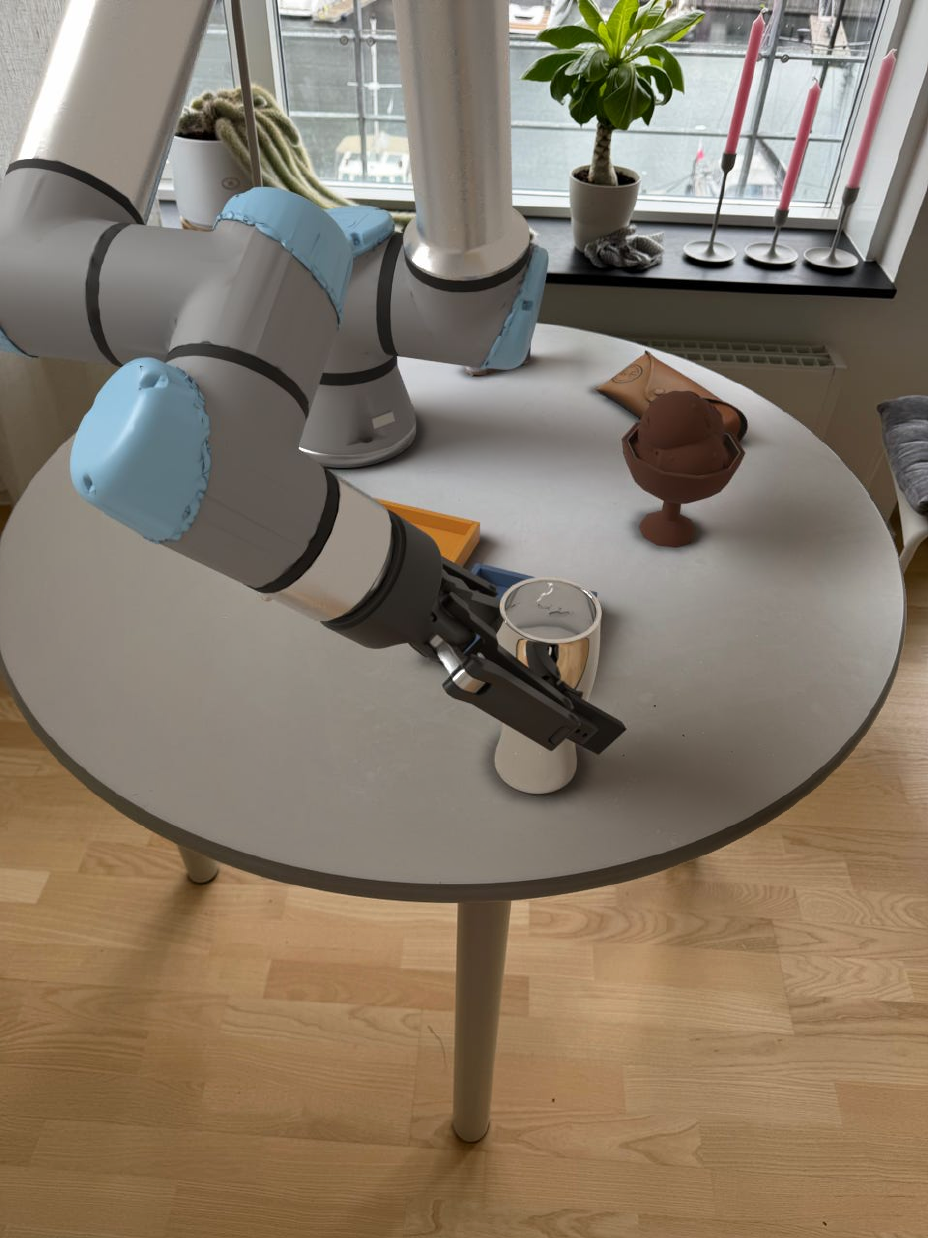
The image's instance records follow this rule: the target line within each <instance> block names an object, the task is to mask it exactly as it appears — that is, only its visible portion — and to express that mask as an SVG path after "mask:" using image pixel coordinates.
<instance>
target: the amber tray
mask: <svg viewBox="0 0 928 1238" xmlns="http://www.w3.org/2000/svg"><path fill="white" fill-rule="evenodd" d="M373 498H374V499H376V500H378V501H379V502H380V503H382V504H383V505H384V506H385V508H386V509H388V510H390V511H393V512H394V513H396V514H397V515H399V516H400V517H402V518H404V519H405V520H407V521H408V522H410V523H411V524H413V525H414V526H416V527H417V528H419V529H421V530H422V531H424V532H425V533H427V534H428V535H429V536H431V537H432V538H433V540H434V541H435V542H436V544H437V545H438V547H439V550H440V553H441V556H443V557H445V558H447V559H448V560H450V561H452V562H454V563H455V564H457V565H459V566H461V567H463V568H464V566H465V564H466V562H467V561H468V560H469V558H470V556H471V554H472V553H473V551H474V550H475V548H476V547H477V545H478V544H479V542H480V537H481V536H480V535H481V522H480V521H477V520H472V519H467V518H462V517H459V516H454V515H450V514H444V513H442V512H437V511H433V510H428V509H424V508H420V507H417V506H416V507H415V506H411V505H408V504H407V505H406V504H404V503H403V504H402V503H398V502H393V501H391V500H385V499H381V498H378V497H373Z"/></svg>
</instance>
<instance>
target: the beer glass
mask: <svg viewBox="0 0 928 1238" xmlns="http://www.w3.org/2000/svg"><path fill="white" fill-rule="evenodd" d="M534 577H535V578H530V579H526V580H523V581H520V582H518V583H516V584H514V585H513V586H511V587H510V588H509V589H508V590H507V591H506V592H505V593H504V594H503V596H502V598H501V600H500V605H499V616H498V621H497V628H496V636H497V640H498V644H499V645H501V646H502V647H503V648H505V649H506V650H507V651H508V652H510V653H511V654H512V655H513V656H515V657H516V658H517V659H518V660H520V661H521V662H522V663H523V664H525V665H526V666H527V667H528V668H530V669H531V670H532V671H534V672H535V673H536V674H537V675H539V676H540V677H541V678H542V679H544V680H545V681H546V682H547V683H549V684H550V685H551V686H552V687H554V688H555V689H556V690H557V691H559V692H560V693H561V694H562V693H563V692H564V691H565V690H568V691H569V692H571V693H573V694H575V695H576V696H578V697H580V698H582V699H583V700H585V701H587V702H589V699H590V696H591V693H592V691H593V686H594V684H595V680H596V675H597V671H598V666H599V659H600V650H601V649H600V648H601V647H600V646H601V623H602V621H601V620H602V616H603V612H602V611H603V610H602V607H601V603H600V601H599V600H598V597H597V598H596V597H595V596H594V594H593V593H592V592H590V591H591V590H590V589H588V588H587V587H585V586H584V585H582V584H580V583H578V582H576V581H573V580H570V579H567V578H563V577H556V576H534ZM589 590H590V591H589ZM500 731H501V732H500V736H499V739H498V742H497V745H496V748H495V751H494V758H493V759H494V760H493V761H494V767H495V770H496V773H497V774H498V775H499V777H500V778H501V780H502V781H503V782H504V783H505V784H507V785H508V786H510V788H511V787H512V788H513V789H515V790H517V791H519V792H523V793H525V794H532V795H545V794H550V793H554V792H556V791H559V790H561V789H563V788H564V787H566V786H567V785H568V784H569V783H570V782H571V780H572V779H573V778H574V776H575V774H576V771H577V766H578V757H577V750H576V743H574V742H572V741H570V740H568V739H565V740H564V741H563V742H562V743H561V744H560V745H558V746H557V747H556V748H555V749H554V750H553V751H550V750H548V749H546V748H544V747H543V746H541V745H539V744H538V743H536V742H534V741H533V740H531V739H529V738H528V737H526V736H524V735H523V734H521V733H519V732H518V731H516V730H514V729H513V728H511V727H509V726H508V725H506V724H504V723H503V722H501V730H500Z"/></svg>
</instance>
